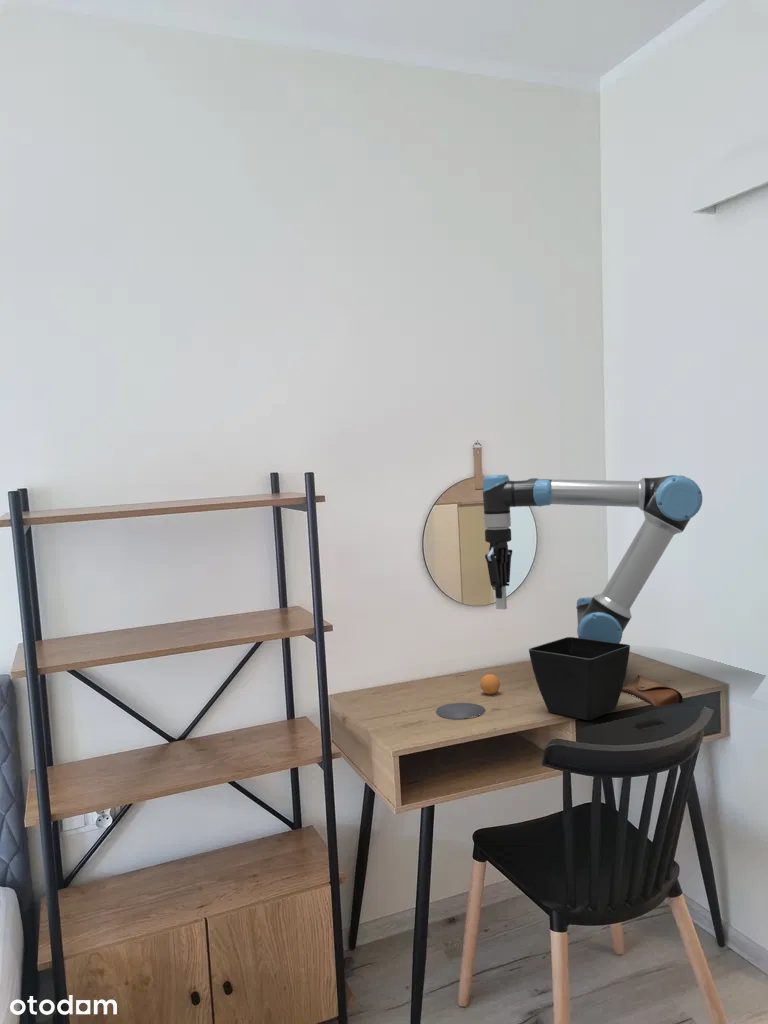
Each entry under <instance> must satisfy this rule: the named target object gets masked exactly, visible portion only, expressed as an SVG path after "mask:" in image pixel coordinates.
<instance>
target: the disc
mask: <svg viewBox="0 0 768 1024" xmlns="http://www.w3.org/2000/svg"><path fill="white" fill-rule="evenodd" d="M484 712H486V708H485V707H484V706H483V705H481V704H477V703H471V702H454V703H448V704H443V705H442V706H439V707H438V708H436V710H435V713H436V715H437V716H439V717H441V718H443V719H448V720H465V719H464V718H470V717H472V716H473V717H474V716H478V715H479V714H480V715H481V714H482V715H484V714H485V713H484ZM483 713H484V714H483ZM482 715H481V716H482ZM478 717H479V716H478ZM470 719H471V718H470Z"/></svg>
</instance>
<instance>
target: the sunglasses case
mask: <svg viewBox="0 0 768 1024" xmlns="http://www.w3.org/2000/svg"><path fill="white" fill-rule="evenodd" d="M622 691H623V692H622ZM622 691H621V692H622V693H625V692H626V693H625V694H627V693H628V694H627V695H629V694H631V695H630V696H632V695H634V696H636V697H635V698H637V697H638V698H637V699H639V698H640V699H639V700H641V701H643V702H646V703H648V704H650V705H652V706H653V707H657V708H658V707H661V706H668V705H669V706H670V705H674V704H682V703H683V701H684V699H683V698H684V696H683V695H682V694H681V692H680V691H679V690H677V689H676V688H673V687H669V686H667V685H664V684H662V683H659V682H656V681H654V680H651V679H648V678H645V677H643V676H642V675H640V674H637V676H636V677H634V678H633V679H632V680H630V681H628V682H627V683H626V684H625V685H623V687H622ZM634 696H633V697H634Z"/></svg>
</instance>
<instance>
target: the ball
mask: <svg viewBox="0 0 768 1024" xmlns="http://www.w3.org/2000/svg"><path fill="white" fill-rule="evenodd" d="M479 684H480V688H481V690H482V691H483V692H484V693H485V694H488V695H494V694H496V693H497V692H498V691H499V690H500V687H501V682H500V679H499V677H497V676H496V675H495V674H491V673H487V674H485V675H483V676H482V678H481V680H480V683H479Z"/></svg>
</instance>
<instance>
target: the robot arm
mask: <svg viewBox="0 0 768 1024" xmlns="http://www.w3.org/2000/svg"><path fill="white" fill-rule="evenodd" d="M482 498H483V500H482V501H483V520H484V528H486V529H485V530H484V537H485V538H484V540H485V543H489V548H488V549H489V550H488V552H489V553H488V554H487V553H486V554H485V555H484V558H485V560H486V565H487V570H488V571H487V572H488V577H489V583H490V586H491V587H492V588H494V592H495V593H494V594H495V610H507V609H508V607H507V606H508V605H507V603H508V601H507V587H509V586H510V579H511V566H512V563H511V562H512V555H513V549H509V545H508V543H509V542H511V541H512V529H511V528H510V527H511V526H512V521H511V520H512V518H511V508H515V507H517V508H518V507H519V508H521V507H544V506H550V505H565V506H566V505H567V506H568V505H570V506H595V507H596V506H597V507H599V506H600V507H624V508H625V507H626V508H627V507H628V508H629V507H630V508H638V509H640V511H643V515H644V520H643V522H642V525H641V526H640V528H639V530H638V531H637V533H636V535H635V536H634V537H633V539H632V541H631V543H630V545H629V546H628V547H627V550H625V551H626V552H625V553H624V555H623V557H622V558H621V560H620V562H619V564H618V565H617V567H616V569H615V570H614V572H613V574H612V576H610V579H609V580H608V582H607V584H606V585H605V588H604V589H603V591H602V592H601V593H599V594H595V595H593V597H589V596H588V597H580V598H578V599H577V601H576V606H575V608H576V613H577V614H576V615H577V629H576V630H577V632H576V633H577V638H583V639H590V640H598V641H605V642H613V643H620V644H621V641H622V638H623V632H624V631H625V629H626V627H627V625H628V624H629V622H630V620H631V619H632V618H633V617H632V613H631V608H632V606H633V604H634V603H635V601H636V600H637V597H638V596H639V594H640V593H641V591H642V589H643V587H644V586H645V585H646V583H647V581H648V579H649V577H650V576H651V574H652V573H653V571H654V569H655V567H656V566H657V564H658V563H659V561H660V559H661V558H662V556H663V555H664V552H665V551H666V549H667V548H668V546H669V544H670V543H671V541H672V540H673V538H674V535H677V534H681V533H683V532H684V530H685V529H686V527H687V526H688V524H689V522H690V520H691V519H692V518H694V517H695V516H696V515H697V514H698V513H699V511H700V510H701V507H702V504H703V493H702V491H701V488H700V486H699V485H698V483H696V481H694V480H693V479H692V478H690V477H688V476H684V475H673V474H671V475H666V476H658V477H657V476H656V477H642V478H641V479H639V480H605V479H604V480H601V479H600V480H597V479H595V480H594V479H561V478H560V479H559V478H558V479H553V478H552V479H548V478H537V477H536V478H534V477H532V478H529V479H524V480H510V478H509V475H508V474H492V475H490V474H489V475H485V476H484V477H483V479H482Z"/></svg>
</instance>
